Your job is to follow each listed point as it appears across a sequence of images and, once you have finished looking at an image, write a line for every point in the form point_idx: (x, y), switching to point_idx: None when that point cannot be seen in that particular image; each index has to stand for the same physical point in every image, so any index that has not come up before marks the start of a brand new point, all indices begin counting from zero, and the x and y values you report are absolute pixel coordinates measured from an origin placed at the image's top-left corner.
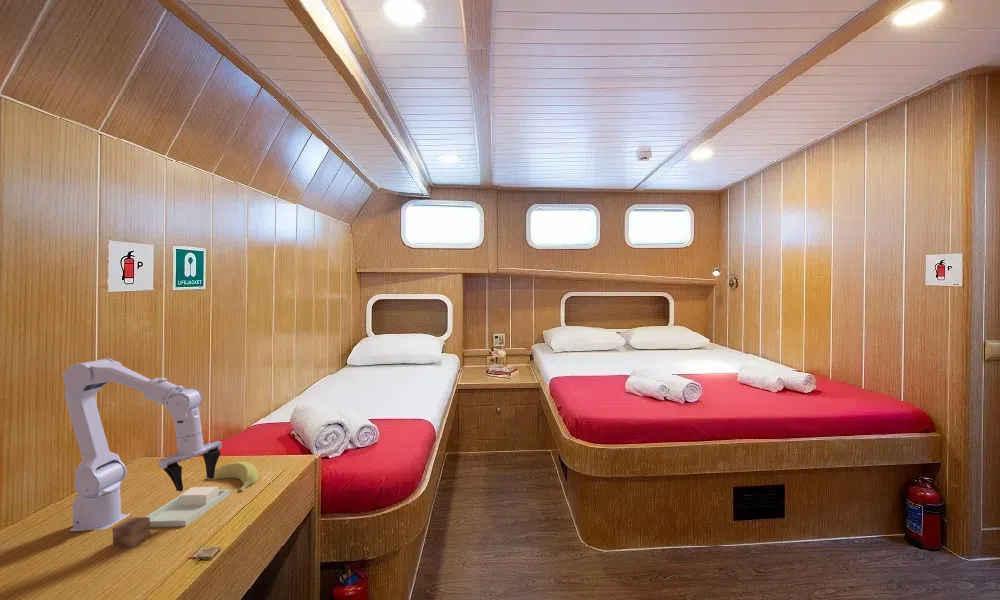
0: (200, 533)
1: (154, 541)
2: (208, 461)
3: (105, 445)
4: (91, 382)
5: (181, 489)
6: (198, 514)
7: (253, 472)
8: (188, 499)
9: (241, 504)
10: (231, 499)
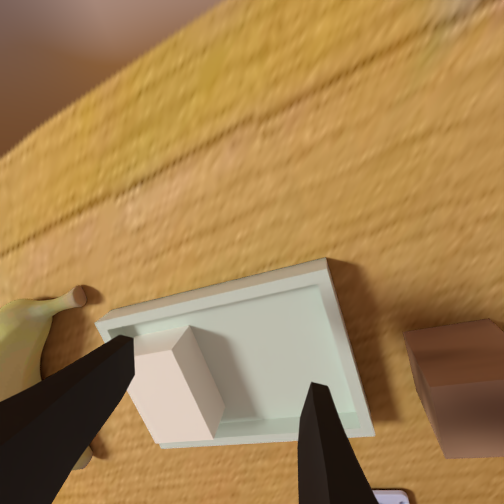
0: (341, 157)
1: (432, 286)
2: (25, 481)
3: None
4: None
5: (322, 390)
6: (256, 281)
7: None
8: (206, 396)
9: (127, 215)
10: (123, 286)
